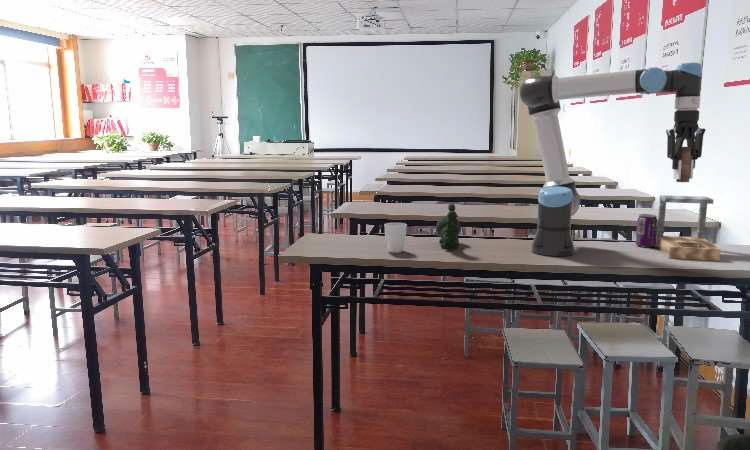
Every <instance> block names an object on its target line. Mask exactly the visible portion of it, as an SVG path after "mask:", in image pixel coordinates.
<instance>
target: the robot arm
mask: <svg viewBox="0 0 750 450" xmlns="http://www.w3.org/2000/svg"><path fill="white" fill-rule="evenodd" d="M702 68H703V66H702V64H701V63H699V62H684V63H678V64H677V66H676V69H673V70H664V69H663V68H661V67H657V66H655V67H654V66H653V67H648V68H645V69H644V68H643V69H637V70H636V69H633V70H624V71H614V72H604V73H593V74H592V73H591V74H584V75H582V74H581V75H574V76H571V75H570V76H564V77H558V76H557V75H555V74H553V75H535V74H534V75H531V76H529V77H527V78H526V79H525V80H523V82H522V83H521V85H520V88H519V98H520V101H522V103H523V104H524V105H525V106H527V110H528V115H529V118H531V119H533V120H534V125H535V130H536V135H537V139H538V144H539V145H538V146H539V151H540V155H541V156H540V157H541V161H542V162H541V163H542V166H543V171H544V176H545V182H544V184H543V186H542V188H541V189H540V190H539V192H538V197H537V201H538V204H537V226H536V227H537V228H536V232H535V235H534V237H533V241H532V243H531V247H530V249H531V250H530V251H531V252H532V253H534V254H537V255H542V256H550V257H566V256H567V257H568V256H573V255H574V254H575V243H574V240H573V237H572V233H571V230H572V229H571V227H572V226H571V225H572V216H575V214H577V212H578V211H579V208H580V206H581V197H580V194H579V193H578V190H577V187H576V182H575V179H573V178H571V177H570V173H569V168H568V164H567V163H568V162H567V157H566V151H565V147H564V142H563V136H562V132H561V126H560V120H559V117H558V116H559V115H558V114H559V113H560V112H561V102H560V101H561V100H570V99H582V98H594V97H607V96H618V95H619V96H620V95H629V94H631V95H632V94H641V95H650V94H651V95H652V94H653V95H654V94H668V93H670V94H672V93H675V95H674V96H675V98H674V110H675V111H674V114H673V115H674V116H673V121H674V124H673V127H672V128H668V129H666V130H665V133H666V136H667V143H666V144H667V145H666V146H667V147H666V154H667V156H666V157H667V158H668V159H670V160H672V163H671V165H672V166H671V168H672V170H673V176H672V177H673V180H676V179H680V178H681V161H682V160H679V158H680V154H681V150H682V147H684V146H683V144H684V141H686V147H691V161H690V178H689V180H693V178H694V169H696V160H698V159H699V158H701V157H702V155H703V154H702V151H703V144H704V143H703V142H704V134H705V132H706V128H702V127H700V126H699V125H698V124H699V123H698V122H699V120H700V111H699V109H700V108H701V107H700V106H701V105H700V103H701V90H702V79H703V78H702V75H703V73H702V71H703V69H702Z"/></svg>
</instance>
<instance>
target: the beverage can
mask: <svg viewBox="0 0 750 450" xmlns="http://www.w3.org/2000/svg"><path fill="white" fill-rule="evenodd" d="M657 224H658V215H656V214H646V213H642V214H638V218H637V221H636V230H635V231H636V234H635V245H637V246H638V247H640V246H643V247H642V248H648V247H649V248H653V247H656V236H657Z"/></svg>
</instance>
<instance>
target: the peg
mask: <svg viewBox="0 0 750 450" xmlns="http://www.w3.org/2000/svg"><path fill="white" fill-rule="evenodd" d="M679 160H682V161H681V178H680V179H675V181H676V183H689V182H690V179H689V178H690V161H691V147H687V146H682V150H681V154H680V158H679Z"/></svg>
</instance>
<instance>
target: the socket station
mask: <svg viewBox="0 0 750 450" xmlns="http://www.w3.org/2000/svg"><path fill="white" fill-rule="evenodd" d="M658 200H659V201H658V202H659V203H658V213H657V220H658V224H657V236H656V245H655V247H657V248H658V249H659V250H660V251H661V252H662V253H663V255H664V256H666V257H667V258H668V259H679V260H680V259H681V260H695V261H696V260H699V261H720V259H721V258H720V257H721V250H722V249H721V248H719V247H718V246H716V245H714V244H713V243H712V242H710V241H708V240H707V239H705V231H706V230H705V229H706V220H707V209H708V204H709V205H711V204H712V205H714V199H713V198H710V197H708V196H697V195H695V196H693V195H692V196H691V195H690V196H688V195H661V194H660V195H659V199H658ZM667 203H672V204H673V203H676V204H680V203H681V204H699V205H698V206H699V208H698V220H697V227H696V228H697V230H696V236H680V235H679V236H677V235H675V236H674V235H664V233H665V231H664V230H665V222H666V221H665V220H666V218H665V217H666V210H667Z"/></svg>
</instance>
